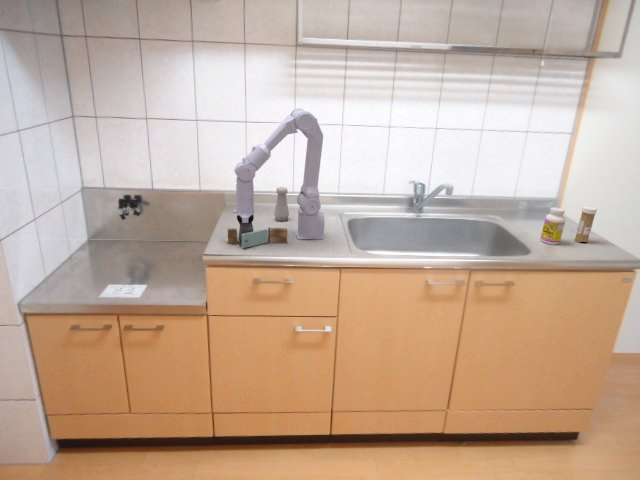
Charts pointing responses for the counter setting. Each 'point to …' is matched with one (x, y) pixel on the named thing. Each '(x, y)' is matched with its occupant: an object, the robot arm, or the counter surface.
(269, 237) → the wall
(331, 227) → the counter surface
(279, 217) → the salt shaker
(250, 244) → the door
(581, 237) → the sprinkles bottle
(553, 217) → the supplement bottle
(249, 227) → the block
